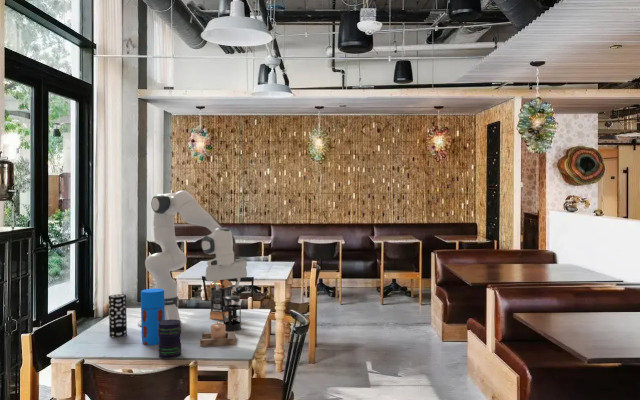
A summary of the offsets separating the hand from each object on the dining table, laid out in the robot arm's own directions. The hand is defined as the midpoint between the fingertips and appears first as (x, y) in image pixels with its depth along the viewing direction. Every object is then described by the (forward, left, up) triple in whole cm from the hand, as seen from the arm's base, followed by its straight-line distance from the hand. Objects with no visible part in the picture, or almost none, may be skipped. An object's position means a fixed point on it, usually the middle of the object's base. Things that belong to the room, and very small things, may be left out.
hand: (227, 288), depth 292 cm
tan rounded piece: (-4, -5, -24) cm, 25 cm away
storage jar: (-24, -27, -25) cm, 44 cm away
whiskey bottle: (-5, +44, -25) cm, 51 cm away
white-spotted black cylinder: (-55, +13, -25) cm, 62 cm away
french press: (+2, +17, -25) cm, 30 cm away
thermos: (-35, -3, -25) cm, 43 cm away
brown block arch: (-4, -7, -24) cm, 26 cm away
